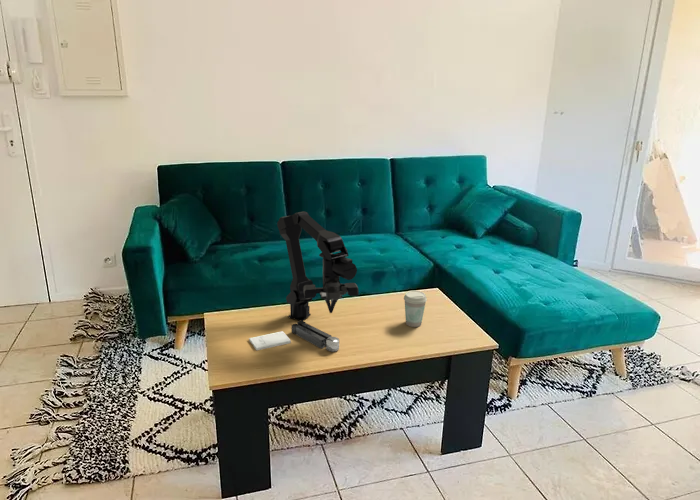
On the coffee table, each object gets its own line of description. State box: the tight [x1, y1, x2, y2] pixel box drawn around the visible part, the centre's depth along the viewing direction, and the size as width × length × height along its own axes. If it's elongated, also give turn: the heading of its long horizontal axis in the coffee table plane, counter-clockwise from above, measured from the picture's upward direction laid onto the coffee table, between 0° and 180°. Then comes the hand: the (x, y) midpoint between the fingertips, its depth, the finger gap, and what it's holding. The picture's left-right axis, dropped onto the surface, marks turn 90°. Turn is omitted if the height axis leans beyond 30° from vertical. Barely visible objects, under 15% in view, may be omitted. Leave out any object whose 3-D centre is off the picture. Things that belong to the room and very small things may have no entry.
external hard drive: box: [248, 330, 292, 351], centre depth 184 cm, size 2×8×12 cm
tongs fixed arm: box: [291, 322, 326, 349], centre depth 185 cm, size 16×2×3 cm, turn 45°
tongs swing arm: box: [296, 320, 340, 352], centre depth 184 cm, size 21×5×3 cm, turn 46°
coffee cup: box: [403, 290, 428, 328], centre depth 198 cm, size 8×8×12 cm
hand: (330, 312), depth 187 cm, fingers closed
